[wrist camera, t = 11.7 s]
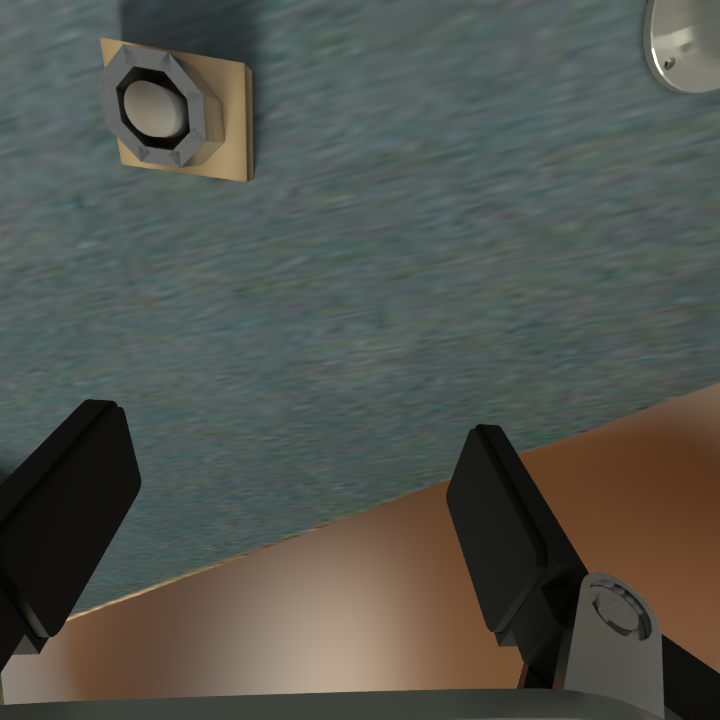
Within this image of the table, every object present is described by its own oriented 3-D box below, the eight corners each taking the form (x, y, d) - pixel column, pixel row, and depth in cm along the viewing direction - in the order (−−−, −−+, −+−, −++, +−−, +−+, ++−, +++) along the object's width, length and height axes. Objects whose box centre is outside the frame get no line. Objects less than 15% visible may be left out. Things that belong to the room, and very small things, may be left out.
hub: (221, 72, 27) (200, 57, 23) (226, 168, 30) (208, 171, 26) (129, 56, 26) (89, 37, 22) (144, 156, 29) (112, 158, 25)
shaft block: (252, 70, 29) (225, 44, 22) (253, 179, 33) (231, 187, 26) (121, 47, 28) (46, 11, 21) (139, 163, 32) (81, 167, 25)
